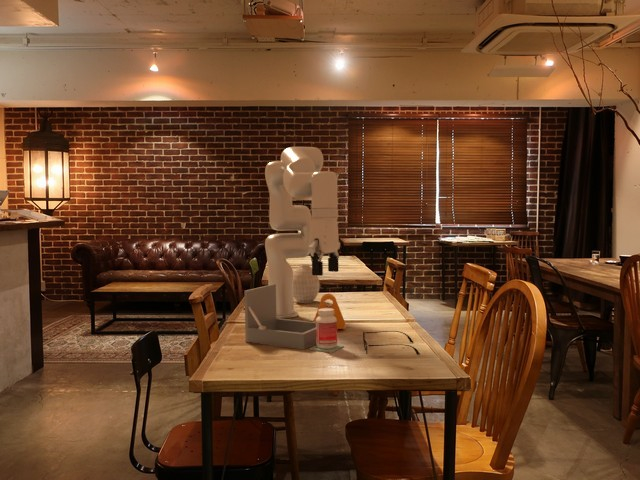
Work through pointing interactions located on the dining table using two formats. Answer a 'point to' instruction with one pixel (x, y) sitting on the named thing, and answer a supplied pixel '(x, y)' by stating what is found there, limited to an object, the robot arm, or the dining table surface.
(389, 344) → the eyeglasses
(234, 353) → the dining table surface
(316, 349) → the mat
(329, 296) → the bracket
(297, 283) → the vase
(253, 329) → the case
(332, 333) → the pill bottle
